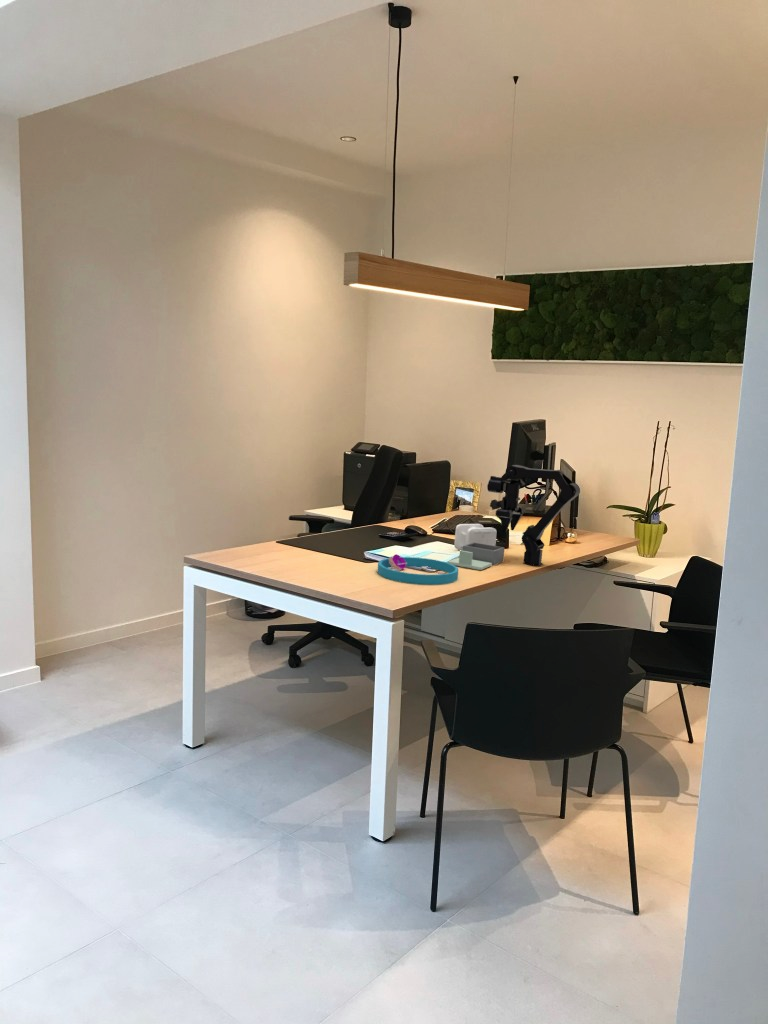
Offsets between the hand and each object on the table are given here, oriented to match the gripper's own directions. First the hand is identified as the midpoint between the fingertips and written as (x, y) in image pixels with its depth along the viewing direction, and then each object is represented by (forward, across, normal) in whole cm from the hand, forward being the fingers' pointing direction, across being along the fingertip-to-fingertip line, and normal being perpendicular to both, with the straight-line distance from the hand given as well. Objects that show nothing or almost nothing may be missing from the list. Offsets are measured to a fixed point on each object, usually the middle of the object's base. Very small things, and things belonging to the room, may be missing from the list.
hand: (508, 531), depth 347 cm
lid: (+12, +24, -6) cm, 28 cm away
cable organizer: (+12, -4, -16) cm, 21 cm away
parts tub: (+12, +11, -6) cm, 17 cm away
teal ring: (+13, +55, -14) cm, 58 cm away
